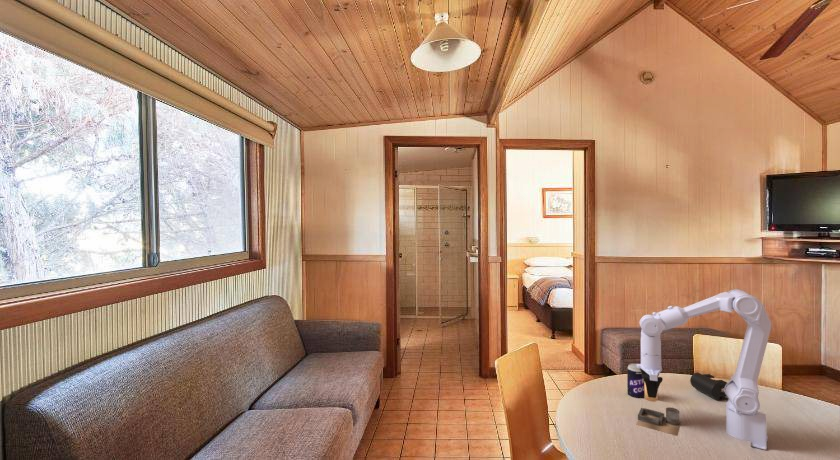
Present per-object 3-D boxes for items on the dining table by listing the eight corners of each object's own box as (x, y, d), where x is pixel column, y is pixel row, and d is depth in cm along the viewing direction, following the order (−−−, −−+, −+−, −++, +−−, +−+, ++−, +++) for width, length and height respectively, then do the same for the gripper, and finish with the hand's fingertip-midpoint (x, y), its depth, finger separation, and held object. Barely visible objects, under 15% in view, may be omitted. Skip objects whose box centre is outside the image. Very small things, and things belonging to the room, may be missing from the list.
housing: (680, 425, 125) (680, 409, 125) (677, 439, 118) (677, 422, 117) (641, 415, 132) (641, 400, 132) (635, 428, 125) (635, 412, 124)
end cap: (689, 390, 150) (689, 372, 150) (706, 388, 151) (706, 371, 151) (711, 402, 140) (711, 383, 140) (729, 400, 141) (729, 382, 141)
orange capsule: (643, 395, 129) (643, 377, 129) (656, 397, 128) (656, 379, 128) (645, 400, 126) (645, 382, 126) (658, 402, 125) (658, 383, 125)
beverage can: (627, 399, 144) (627, 367, 143) (627, 393, 149) (627, 362, 148) (645, 402, 141) (645, 369, 141) (644, 396, 146) (644, 364, 146)
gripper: (634, 344, 135) (635, 383, 135) (638, 358, 122) (639, 401, 122) (658, 346, 132) (658, 386, 132) (665, 361, 119) (665, 405, 119)
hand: (651, 394), depth 127 cm, fingers closed on orange capsule, 4 cm apart
